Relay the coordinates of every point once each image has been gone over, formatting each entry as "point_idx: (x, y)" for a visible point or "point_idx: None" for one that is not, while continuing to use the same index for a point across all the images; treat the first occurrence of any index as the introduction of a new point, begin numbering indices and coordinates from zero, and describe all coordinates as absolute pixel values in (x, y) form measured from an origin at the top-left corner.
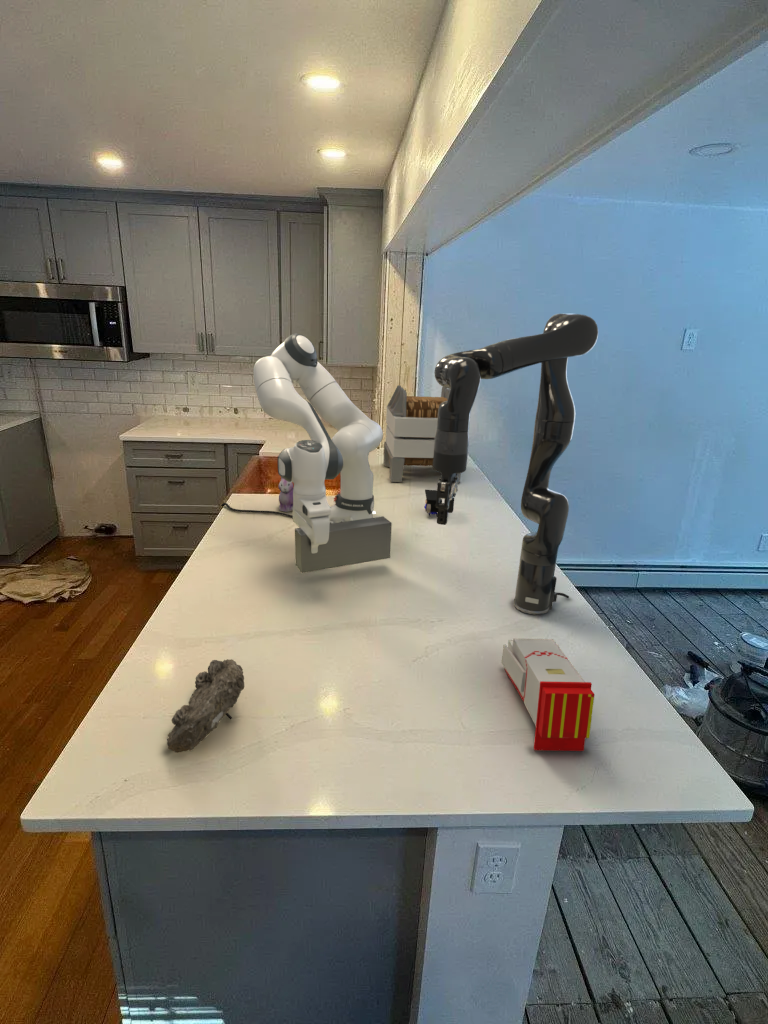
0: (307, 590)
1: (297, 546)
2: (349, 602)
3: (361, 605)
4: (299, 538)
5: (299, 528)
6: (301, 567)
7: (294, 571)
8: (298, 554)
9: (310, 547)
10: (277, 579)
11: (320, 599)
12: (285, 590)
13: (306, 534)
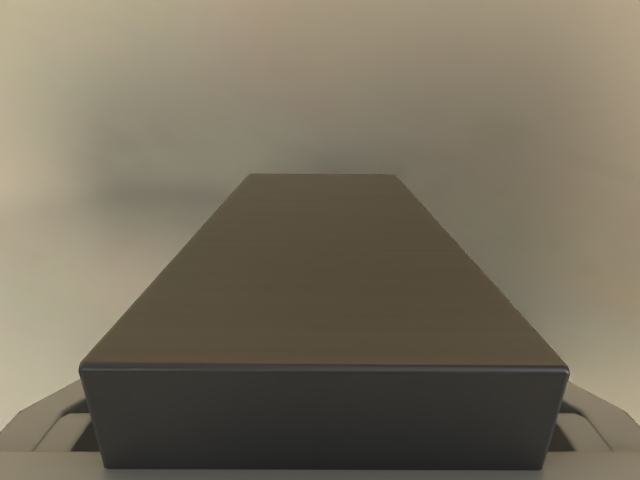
0: (226, 174)
1: (345, 232)
2: (57, 313)
3: (23, 346)
4: (227, 305)
5: (510, 449)
6: (242, 183)
7: (478, 181)
8: (313, 206)
9: None
10: (426, 47)
11: (111, 204)
12: (264, 51)
13: (111, 472)
